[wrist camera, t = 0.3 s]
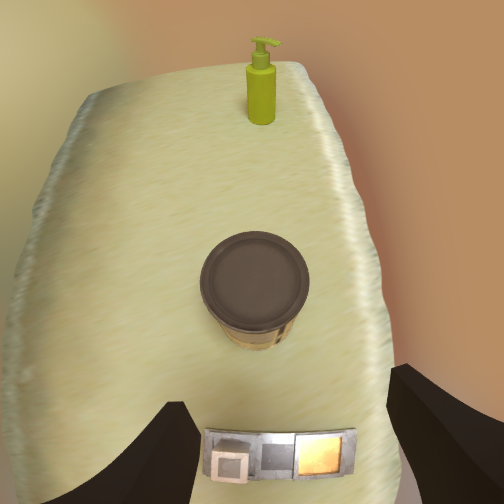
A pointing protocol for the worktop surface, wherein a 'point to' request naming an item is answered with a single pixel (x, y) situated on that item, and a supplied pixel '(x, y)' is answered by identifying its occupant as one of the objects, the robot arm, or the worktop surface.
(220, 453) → the block
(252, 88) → the soap dispenser
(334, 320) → the worktop surface
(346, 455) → the rail
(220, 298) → the coffee can
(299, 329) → the worktop surface
